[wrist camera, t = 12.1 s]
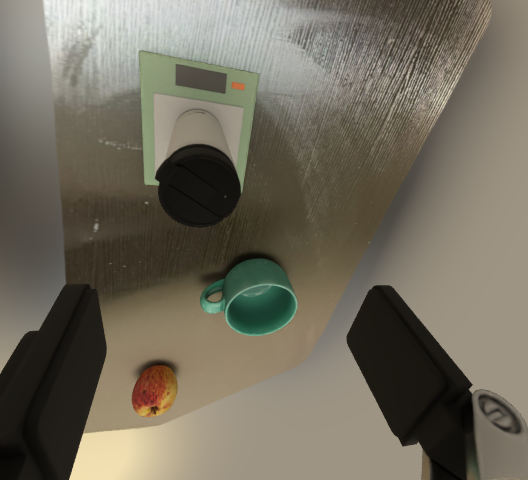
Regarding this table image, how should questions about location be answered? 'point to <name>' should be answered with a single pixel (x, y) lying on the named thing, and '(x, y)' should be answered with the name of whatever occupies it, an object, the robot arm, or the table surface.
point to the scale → (193, 105)
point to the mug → (253, 297)
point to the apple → (154, 391)
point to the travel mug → (198, 172)
